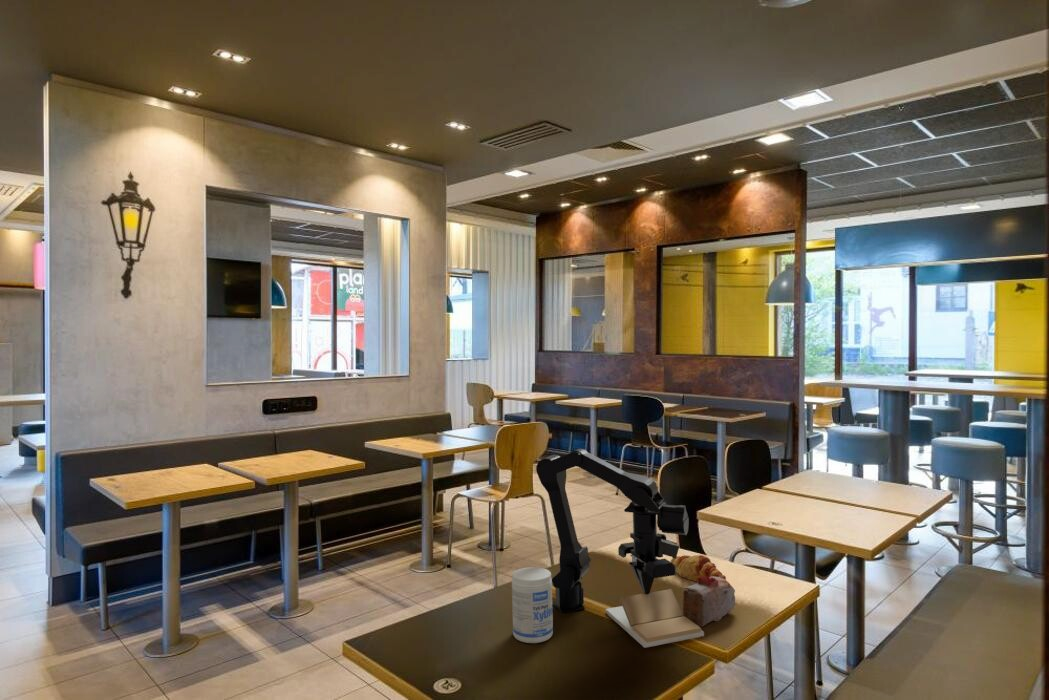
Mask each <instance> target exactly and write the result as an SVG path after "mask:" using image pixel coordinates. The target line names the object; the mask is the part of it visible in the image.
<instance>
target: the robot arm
mask: <svg viewBox="0 0 1049 700" xmlns="http://www.w3.org/2000/svg"><path fill="white" fill-rule="evenodd" d="M575 467H578V468H580V469H581V470H583V471H585V472H587V473H589V474H591V475H593V476H595V477H596V478H598V479H600V480H602V481H604V482H606V483H608V484H609V485H612V486H614V487H615V488H617V489H618V490H619V491H620V492H621V493H622V494H623V495H624V496H625V497H626V498H627V499H628V500H630V503H629V505H628V506H627V507H625V508H624V509H623V510H624V512H626V513H632V530H633V531H632V532H630V533H629V534H630V535H629V536H630V538H631V539H632V540H633V541H631V542H623V543H621V544H620V545H619V547H618V549H617V552H618V556H619V557H621V558H623V559H624V558H626V557H627V555H628V554H629V555H630V557H631V561H630V562H628V565H629V566H630V568H631V569H632V572H633V573H634V575H635V577H636V580H637V581H638V583H639V586H640V588H641V590H642V591H643V594H644V593H645V594H649V593H650V592H651V590H652V586H653V584H654V580H655V579H658V578H659V579H660V578H666V577H671V576H676V575H677V573H676V566H675V565H674V564H673V563H672V562H671V560H668V559H666V558H663V557H664V556H666V557H671V559H672V558H675V559H676V557H677V556H678V553H679V549H680V545H678V544H676V543H674V542H673V541H669V540H668V539H667V536H666V535H665V534H671V535H683V536H687V534H688V532H689V525H690V524H689V523H690V522H689V520H690V518H689V516H688V512H687V508H686V505H682V504H680V505H676V504H675V505H673V504H672V505H671V504H667V503H668V502H667V501H666V500H665V498H664V497H663V496H662V494H661V493H660V491H659V489H658V488H659V487H658V485H657V482H656V481H655V480H654V479H652V478H651V477H647V476H643V475H640V474H637V473H632V472H627V471H625V470H623V469H621V468H619V467H617V466H615V465H613V464H611V463H610V462H607V461H605V460H603V459H602V458H599V457H598V456H595V454H594V455H593V454H592V453H590V452H588V451H587V450H586V449H584V448H578V449H575V450H573V451H572V452H568V453H565V454H564V455H558V454H551V455H549V456H546V457H545V458H542V459H540V460H539V461H538V463H537V464H536V468H535V469H536V470H535V471H536V474H537V477H538V479H539V481H540V484H541V485H542V486H543V488H544V489H545V490H546V492H547V494H548V498H549V502H550V507H551V511H552V516H553V520H554V523H555V527H556V532H557V537H558V540H559V544H560V545H559V546H560V551H559V557H558V558H559V560H558V561H559V572H558V573H557V574H556V575H554V576H553V577H551V578H552V587H554V588H555V601H552V605H554V606H555V607H556V608H557V609H558V611H559V612H561V613H569V612H574V611H580V610H585V609H586V607H585V605H584V603H585V601H584V600H585V596H584V595H585V594H584V587H582V586H583V585H582V582H581V580H582V579H583V577H584V575H585V574H587V572H588V571H589V569H590V566H591V565H590V563H591V562H592V559H591V558H590V555H589V548H588V546H582V544H580V542H579V540H578V537H577V532H576V527H575V525H574V524H575V523H574V519H573V516H572V515H573V514H572V511H571V507H570V503H569V497H568V494H567V491H566V485H567V470H569V469H572V468H575ZM657 528H658V529H657ZM657 530H658V531H661V533H659V532H657ZM662 533H663V534H662Z"/></svg>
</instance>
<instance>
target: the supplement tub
mask: <svg viewBox="0 0 1049 700" xmlns="http://www.w3.org/2000/svg"><path fill="white" fill-rule="evenodd" d="M511 576H512V577H511V598H512V600H511V601H512V603H511V605H512V607H511V608H512V609H511V610H512V633H513V637H514V638H515V639H516V640H517V641H519V642H522V643H525V644H538V643H543V642H545V641H548V640H549V639H550V638H551V637H552V636H553V633H554V625H553V624H554V621H553V620H554V617H553V615H554V613H553V583H552V578H553V577H552V572H551V571H550V570H549V569H546V568H543V567H536V566H531V567H530V566H529V567H522V568H519V569H516V570H514V571H513V572H512V574H511Z"/></svg>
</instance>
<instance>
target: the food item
mask: <svg viewBox="0 0 1049 700" xmlns="http://www.w3.org/2000/svg"><path fill="white" fill-rule="evenodd" d="M697 580H698V582H697V583H694V584H693V585H689V586H687V587H685V588H683V595H682V596H683V597H682V598H683V600H682V613H683V615H684V616H685V617H686V618H688V619H689V620H691V621H692V622H693V623H695V624H696V625H698V626H699V627H700V626H702V627H701V628H703V627H705V626H706V625H707V624H709V623H711V622H712V621H715V622H719V620H720V621H721V620H722V619H723V617H725V616H726V615H727V614H728V613H731V611H732V610H734V608H735V606H736V596H735V593H736V589H734V587H733V586H732V585H731V583H730V582H729V581H727V579H726V580H725V579H723V578H721V577H716V576H711V577H710V578H709V576H708V577H706V576H704V577H702V576H701V577H700V578H697Z"/></svg>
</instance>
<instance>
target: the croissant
mask: <svg viewBox="0 0 1049 700" xmlns="http://www.w3.org/2000/svg"><path fill="white" fill-rule="evenodd" d="M670 562H672V563H673V564H674V565H675V566H676V574H677V575H679V576H680V577H681V578H684V579H686V580H689V581H692V582H697V583H698V580H697V578H700V577H701V576H702V577H704V576H706V577H708V576H709V578H710V577H711V576H716V577H721V578H723V579H725V580H726V581H727V577H726V575H724V574H723V573H722V572H721V571H720V570H719V569H718V568H717V566H716V564H715V563H713V562H711V559H710V558H709V557H708V556H706V555H703V554H697V555H696V554H695V555H688V554H687V555H685V554H684V555H681V556H679V555H677V557H676V559H675V558H672V557H671V559H670Z"/></svg>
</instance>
